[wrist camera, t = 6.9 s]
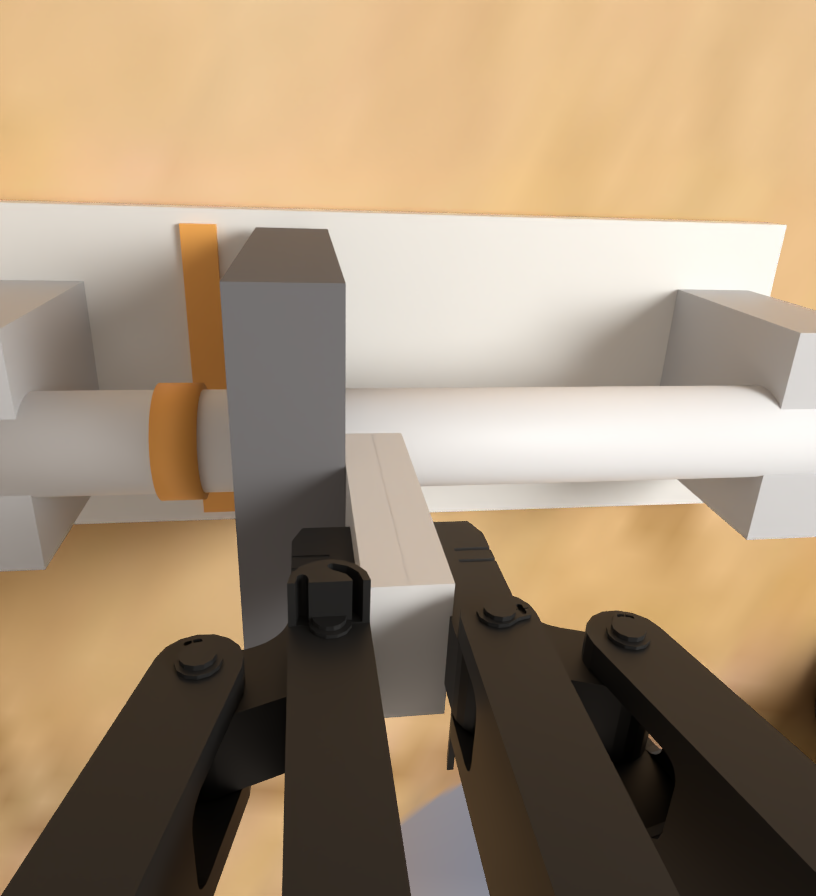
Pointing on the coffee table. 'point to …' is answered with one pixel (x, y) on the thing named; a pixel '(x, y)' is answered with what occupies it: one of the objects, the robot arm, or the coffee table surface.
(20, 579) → the coffee table surface
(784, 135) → the coffee table surface
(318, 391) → the collar
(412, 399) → the pipe stand
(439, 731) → the coffee table surface
